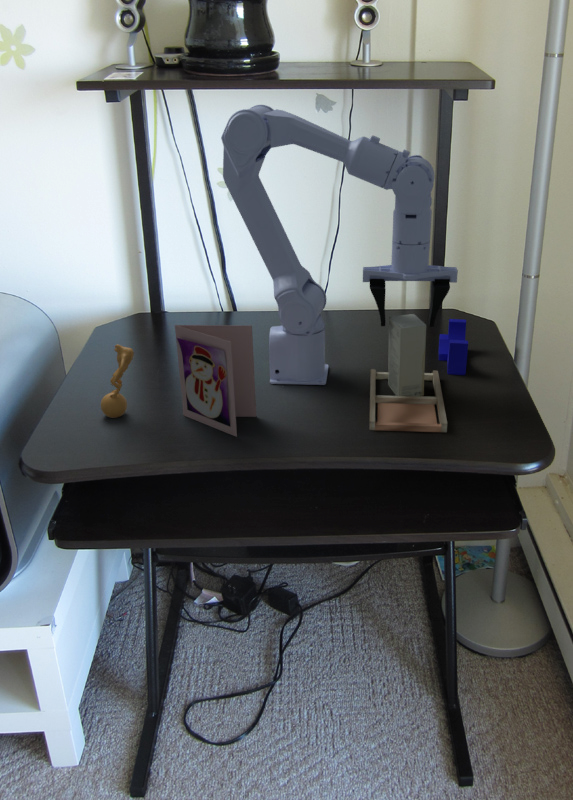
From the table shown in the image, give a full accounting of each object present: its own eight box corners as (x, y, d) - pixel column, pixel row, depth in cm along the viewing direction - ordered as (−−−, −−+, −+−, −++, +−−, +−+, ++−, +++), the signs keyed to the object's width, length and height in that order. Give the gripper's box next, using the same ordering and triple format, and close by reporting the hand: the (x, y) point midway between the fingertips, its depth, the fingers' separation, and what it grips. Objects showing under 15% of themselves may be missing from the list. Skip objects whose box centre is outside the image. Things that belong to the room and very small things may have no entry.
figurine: (107, 405, 118) (97, 335, 113) (145, 403, 118) (136, 334, 113) (97, 429, 111) (86, 355, 106) (137, 428, 111) (128, 354, 106)
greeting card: (179, 418, 114) (170, 326, 107) (213, 401, 119) (206, 313, 112) (232, 439, 107) (226, 343, 100) (266, 421, 112) (262, 328, 105)
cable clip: (438, 349, 137) (440, 318, 134) (463, 350, 136) (466, 319, 133) (438, 375, 126) (440, 342, 123) (465, 376, 125) (468, 343, 123)
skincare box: (424, 397, 118) (428, 325, 113) (397, 400, 117) (400, 328, 112) (411, 381, 124) (414, 312, 118) (385, 384, 123) (388, 315, 118)
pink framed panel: (369, 430, 108) (369, 421, 108) (370, 377, 125) (370, 369, 125) (446, 432, 107) (447, 423, 106) (437, 378, 124) (437, 370, 124)
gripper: (363, 247, 110) (361, 332, 116) (462, 247, 108) (455, 333, 114) (363, 236, 116) (362, 317, 122) (457, 235, 114) (451, 318, 120)
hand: (407, 324), depth 118 cm, fingers open, 7 cm apart
